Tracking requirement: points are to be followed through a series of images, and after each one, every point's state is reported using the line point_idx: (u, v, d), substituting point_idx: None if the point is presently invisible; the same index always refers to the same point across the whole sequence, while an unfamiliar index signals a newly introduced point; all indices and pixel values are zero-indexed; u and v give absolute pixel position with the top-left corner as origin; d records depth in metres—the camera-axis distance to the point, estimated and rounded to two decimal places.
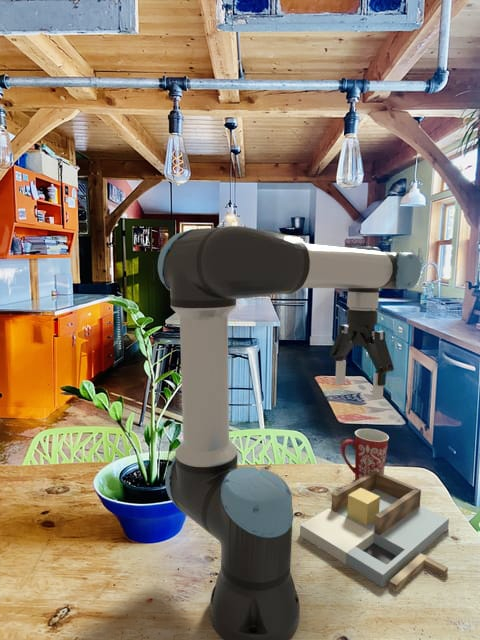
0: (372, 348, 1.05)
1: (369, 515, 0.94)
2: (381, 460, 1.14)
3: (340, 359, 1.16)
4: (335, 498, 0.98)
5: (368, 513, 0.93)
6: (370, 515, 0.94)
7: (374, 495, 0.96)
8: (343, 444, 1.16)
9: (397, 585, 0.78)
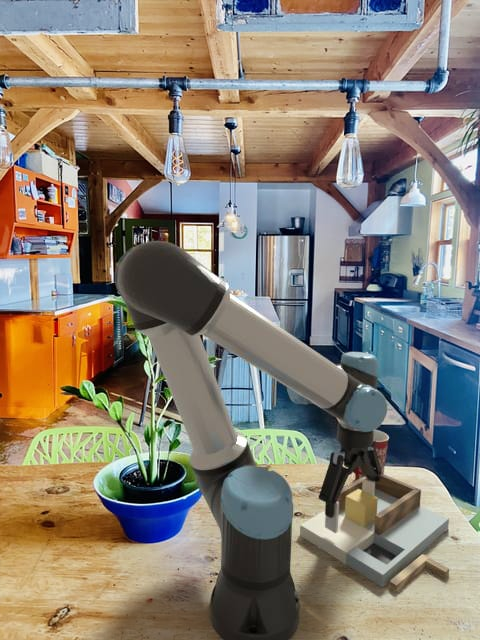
0: None
1: (367, 517, 0.93)
2: (381, 460, 1.14)
3: (369, 478, 0.98)
4: None
5: (365, 515, 0.93)
6: (368, 517, 0.94)
7: (372, 496, 0.96)
8: None
9: (397, 585, 0.78)
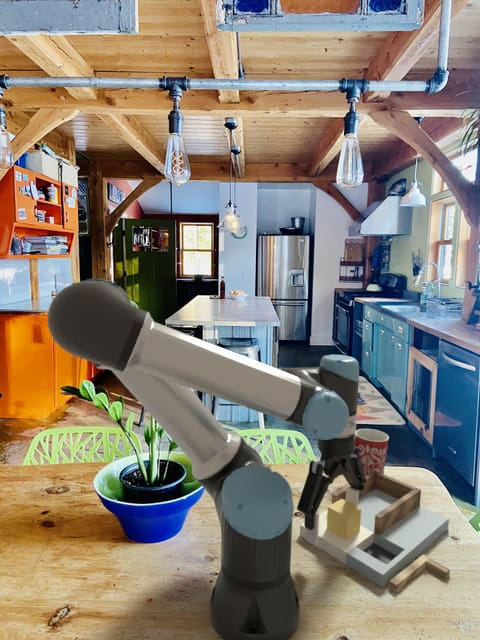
0: None
1: (349, 529, 0.89)
2: (381, 460, 1.14)
3: (353, 487, 0.93)
4: (335, 498, 0.98)
5: (348, 527, 0.88)
6: (350, 529, 0.89)
7: (355, 507, 0.92)
8: None
9: (397, 585, 0.78)
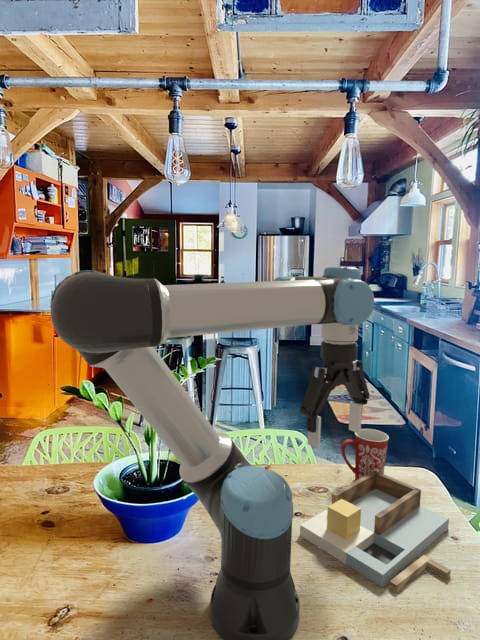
0: (322, 387, 0.88)
1: (349, 529, 0.89)
2: (381, 460, 1.14)
3: (356, 401, 0.95)
4: (335, 498, 0.98)
5: (348, 527, 0.88)
6: (350, 529, 0.89)
7: (355, 507, 0.92)
8: (343, 444, 1.16)
9: (397, 585, 0.78)
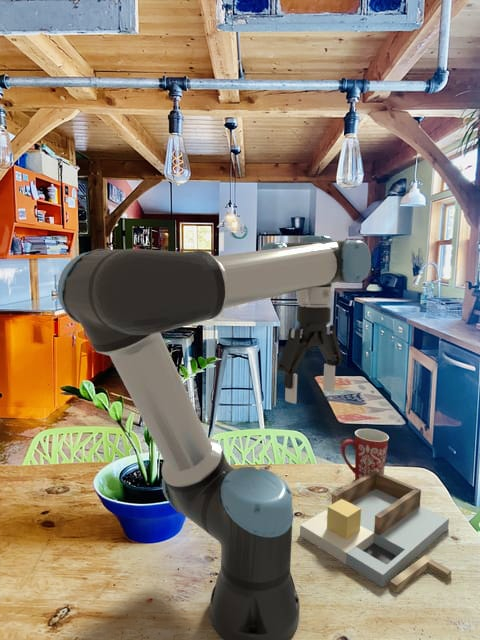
0: (298, 347, 0.95)
1: (349, 529, 0.89)
2: (381, 460, 1.14)
3: (330, 363, 1.03)
4: (335, 498, 0.98)
5: (348, 527, 0.88)
6: (350, 529, 0.89)
7: (355, 507, 0.92)
8: (343, 444, 1.16)
9: (397, 585, 0.78)
